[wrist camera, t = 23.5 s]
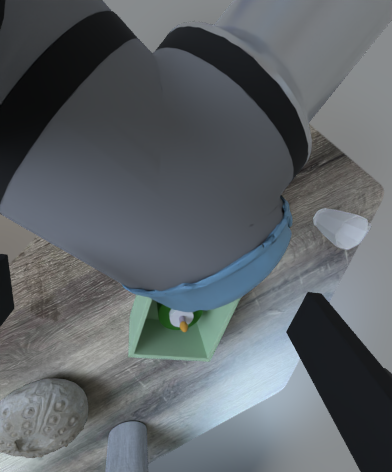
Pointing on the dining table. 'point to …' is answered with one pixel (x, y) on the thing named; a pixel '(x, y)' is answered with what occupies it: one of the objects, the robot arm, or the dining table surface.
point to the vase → (127, 448)
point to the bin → (175, 333)
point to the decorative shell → (42, 417)
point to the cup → (341, 227)
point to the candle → (177, 318)
